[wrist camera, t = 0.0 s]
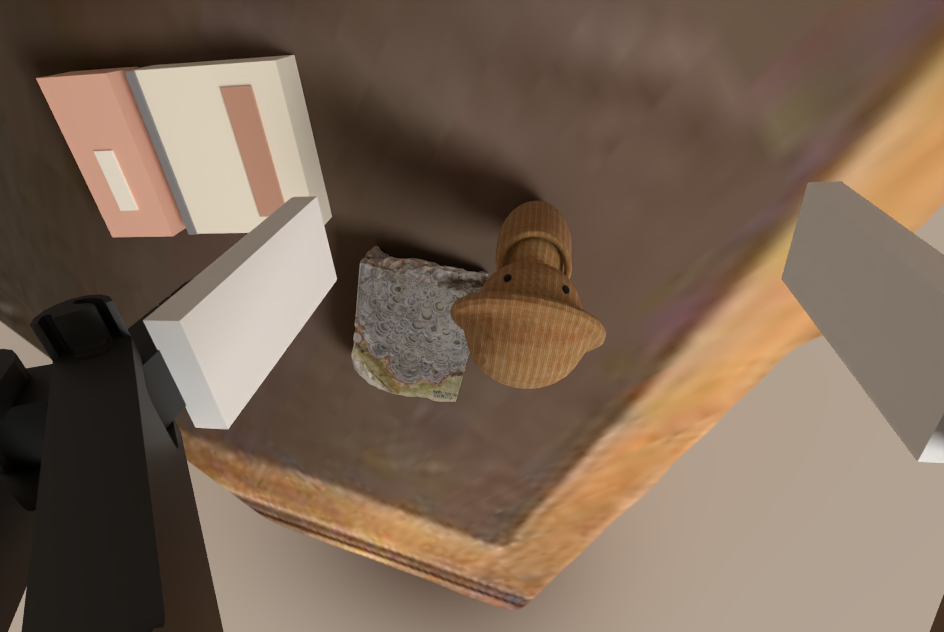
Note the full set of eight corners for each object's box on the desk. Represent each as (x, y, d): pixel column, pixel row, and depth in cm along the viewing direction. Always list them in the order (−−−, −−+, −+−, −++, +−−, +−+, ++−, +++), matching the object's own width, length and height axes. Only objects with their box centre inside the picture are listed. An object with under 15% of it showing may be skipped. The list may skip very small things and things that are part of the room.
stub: (71, 71, 42) (33, 78, 39) (137, 66, 41) (103, 73, 38) (138, 221, 49) (110, 238, 46) (196, 220, 48) (171, 237, 45)
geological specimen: (487, 287, 43) (454, 421, 50) (492, 256, 48) (461, 382, 56) (359, 257, 42) (345, 397, 50) (377, 230, 48) (362, 360, 55)
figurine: (601, 187, 42) (629, 325, 25) (577, 265, 46) (589, 430, 29) (490, 166, 42) (446, 289, 25) (476, 246, 46) (431, 397, 29)
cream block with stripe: (152, 65, 41) (123, 71, 39) (294, 54, 39) (274, 60, 37) (209, 219, 48) (187, 234, 45) (332, 216, 46) (317, 232, 44)
